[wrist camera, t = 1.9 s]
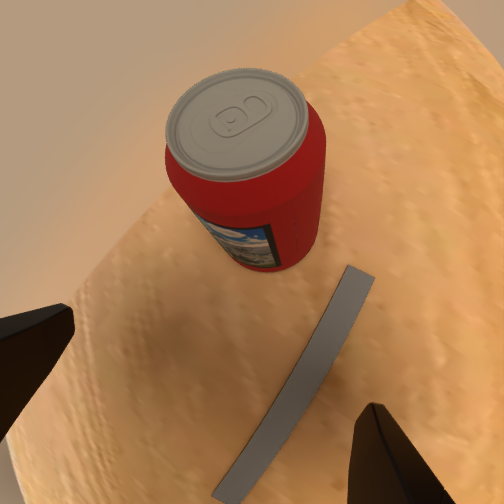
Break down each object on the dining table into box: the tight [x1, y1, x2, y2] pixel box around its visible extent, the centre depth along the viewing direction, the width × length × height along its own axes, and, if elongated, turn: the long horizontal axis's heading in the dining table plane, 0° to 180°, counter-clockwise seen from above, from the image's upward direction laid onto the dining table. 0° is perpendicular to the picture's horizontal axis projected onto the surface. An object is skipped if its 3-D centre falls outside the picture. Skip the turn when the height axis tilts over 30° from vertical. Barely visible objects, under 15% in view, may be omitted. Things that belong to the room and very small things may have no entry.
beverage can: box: [165, 68, 326, 272], centre depth 16 cm, size 7×7×12 cm
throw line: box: [212, 265, 375, 504], centre depth 18 cm, size 19×2×1 cm, turn 151°
